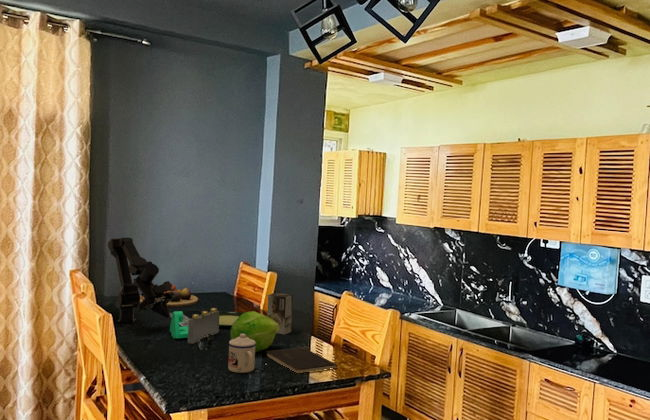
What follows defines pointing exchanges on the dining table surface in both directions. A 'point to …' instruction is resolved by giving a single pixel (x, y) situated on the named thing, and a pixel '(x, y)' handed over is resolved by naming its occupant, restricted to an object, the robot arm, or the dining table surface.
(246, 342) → the teacup with lid
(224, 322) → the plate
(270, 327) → the lettuce
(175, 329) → the camera mount
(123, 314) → the robot arm
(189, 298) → the wooden plate with food
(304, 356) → the hardcover book
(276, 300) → the coffee box
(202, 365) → the dining table surface
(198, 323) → the grey upright panel
